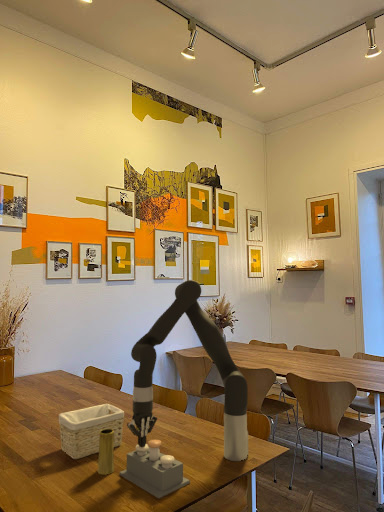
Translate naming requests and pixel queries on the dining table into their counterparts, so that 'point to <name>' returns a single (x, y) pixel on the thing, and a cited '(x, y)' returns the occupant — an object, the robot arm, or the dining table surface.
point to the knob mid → (154, 450)
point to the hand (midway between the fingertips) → (142, 446)
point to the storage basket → (89, 429)
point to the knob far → (142, 449)
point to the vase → (106, 452)
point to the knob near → (167, 461)
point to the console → (154, 474)
